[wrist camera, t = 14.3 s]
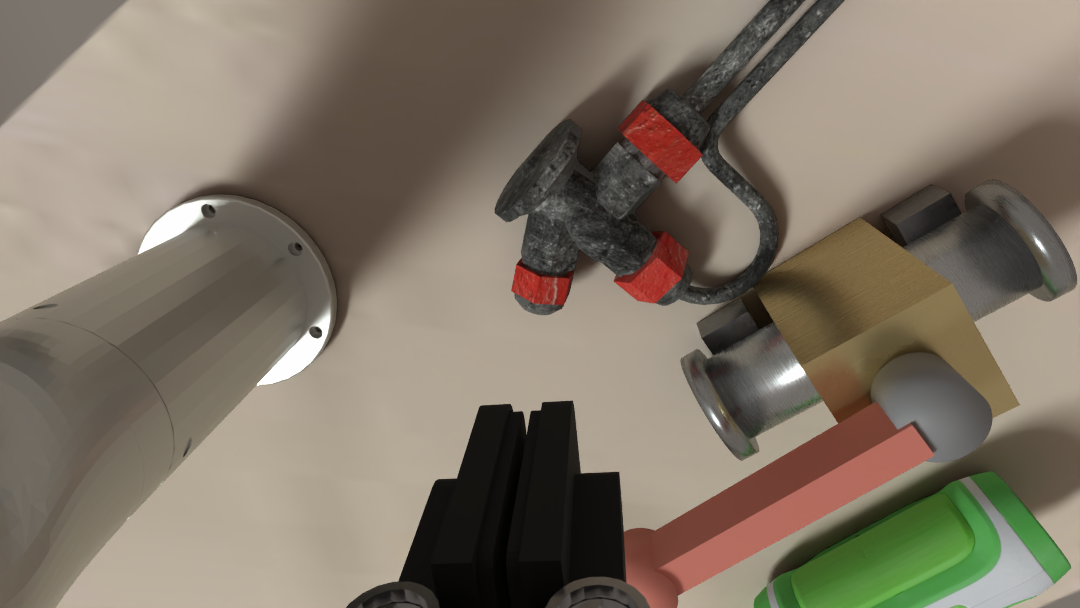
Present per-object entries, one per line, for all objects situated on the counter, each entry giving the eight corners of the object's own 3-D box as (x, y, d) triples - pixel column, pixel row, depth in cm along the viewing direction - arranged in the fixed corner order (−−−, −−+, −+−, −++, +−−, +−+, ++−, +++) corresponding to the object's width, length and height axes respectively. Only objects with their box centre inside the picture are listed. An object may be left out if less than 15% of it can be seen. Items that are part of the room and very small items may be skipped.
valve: (628, 366, 46) (452, 231, 41) (947, 59, 39) (779, -151, 34) (647, 422, 40) (445, 272, 35) (1026, 73, 33) (838, -177, 28)
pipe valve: (729, 411, 44) (768, 525, 34) (671, 329, 42) (694, 424, 32) (1006, 261, 39) (1149, 342, 29) (953, 161, 37) (1086, 210, 27)
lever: (595, 538, 35) (595, 591, 32) (930, 337, 29) (971, 375, 26) (638, 582, 36) (642, 638, 32) (971, 395, 30) (1016, 439, 27)
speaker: (795, 630, 51) (827, 726, 44) (738, 569, 49) (762, 658, 42) (1024, 515, 46) (1100, 602, 39) (969, 441, 44) (1039, 519, 37)
